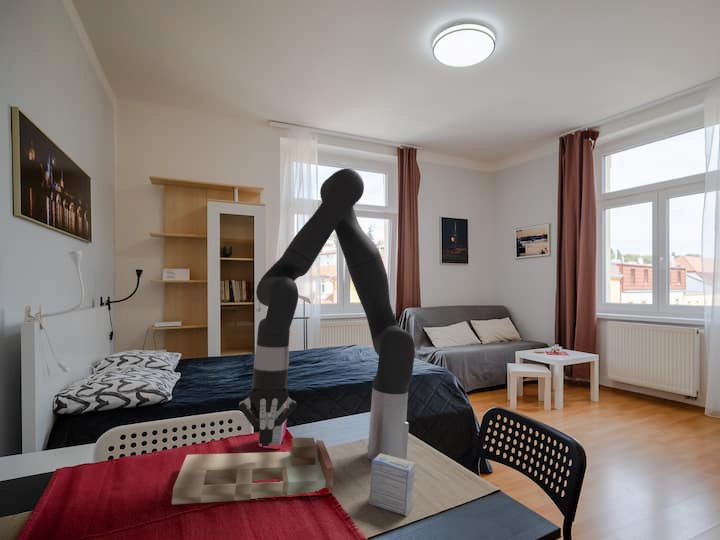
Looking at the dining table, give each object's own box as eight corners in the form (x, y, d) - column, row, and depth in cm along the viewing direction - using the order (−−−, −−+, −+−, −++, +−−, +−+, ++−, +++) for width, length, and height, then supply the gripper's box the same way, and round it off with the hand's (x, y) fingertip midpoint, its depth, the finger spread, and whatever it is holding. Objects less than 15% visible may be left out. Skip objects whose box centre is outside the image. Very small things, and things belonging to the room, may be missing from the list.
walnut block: (311, 455, 89) (313, 437, 89) (315, 464, 84) (316, 446, 84) (290, 455, 88) (291, 437, 88) (292, 465, 83) (293, 446, 83)
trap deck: (320, 463, 91) (322, 440, 92) (331, 495, 78) (334, 467, 78) (185, 468, 84) (188, 443, 84) (171, 504, 70) (174, 473, 70)
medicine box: (413, 506, 76) (416, 462, 77) (406, 517, 72) (409, 470, 73) (376, 494, 80) (379, 452, 80) (368, 504, 75) (371, 459, 76)
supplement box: (280, 450, 97) (284, 404, 98) (257, 448, 97) (261, 402, 98) (285, 441, 103) (289, 398, 104) (263, 439, 103) (267, 396, 104)
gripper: (299, 362, 90) (293, 437, 90) (240, 361, 87) (234, 439, 86) (303, 369, 83) (297, 450, 82) (239, 369, 80) (232, 453, 79)
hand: (265, 444), depth 84 cm, fingers closed
